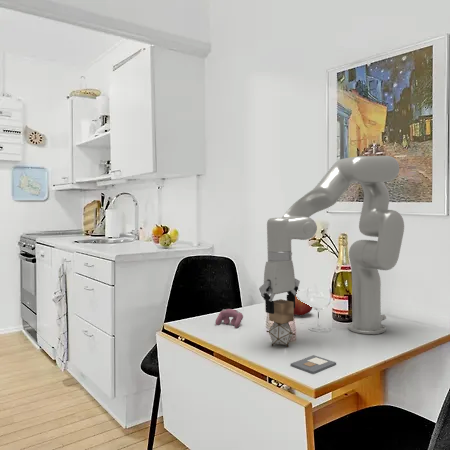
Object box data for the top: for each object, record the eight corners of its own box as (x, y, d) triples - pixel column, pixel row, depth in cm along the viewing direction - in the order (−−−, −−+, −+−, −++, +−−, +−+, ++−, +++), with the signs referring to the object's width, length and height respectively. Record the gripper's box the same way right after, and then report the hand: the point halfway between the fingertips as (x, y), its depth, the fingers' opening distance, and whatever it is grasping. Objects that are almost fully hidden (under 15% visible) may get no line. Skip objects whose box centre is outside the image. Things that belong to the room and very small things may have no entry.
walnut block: (281, 317, 142) (280, 299, 142) (293, 320, 138) (293, 301, 138) (269, 320, 139) (268, 301, 138) (281, 323, 134) (281, 304, 134)
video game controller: (242, 330, 161) (245, 311, 163) (236, 327, 157) (240, 308, 160) (219, 326, 166) (223, 309, 168) (213, 324, 163) (217, 306, 165)
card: (313, 357, 127) (313, 354, 127) (336, 364, 121) (336, 362, 121) (290, 365, 121) (290, 363, 121) (313, 374, 115) (313, 371, 115)
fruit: (309, 311, 179) (309, 287, 179) (316, 318, 170) (315, 292, 169) (284, 312, 179) (283, 288, 178) (289, 319, 169) (288, 293, 168)
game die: (285, 355, 140) (303, 329, 141) (280, 354, 132) (299, 326, 133) (263, 338, 144) (280, 313, 144) (257, 336, 136) (275, 310, 137)
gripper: (289, 253, 146) (290, 303, 146) (251, 258, 135) (252, 313, 135) (306, 255, 140) (307, 307, 141) (268, 260, 129) (269, 317, 130)
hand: (280, 310), depth 138 cm, fingers open, 9 cm apart
